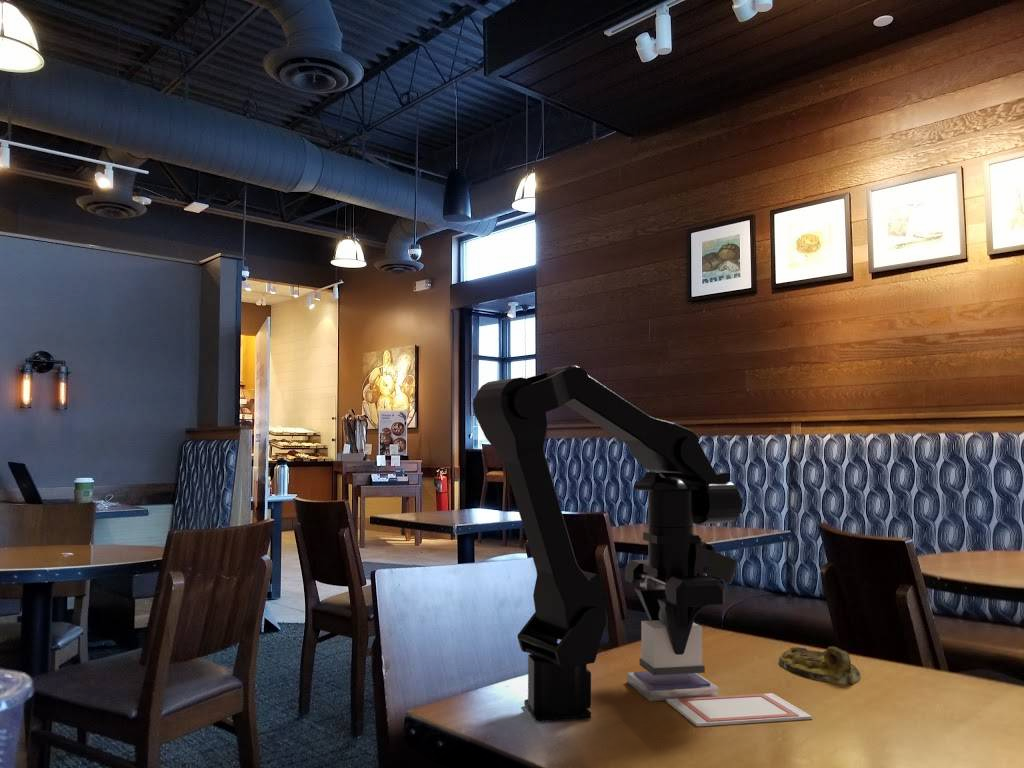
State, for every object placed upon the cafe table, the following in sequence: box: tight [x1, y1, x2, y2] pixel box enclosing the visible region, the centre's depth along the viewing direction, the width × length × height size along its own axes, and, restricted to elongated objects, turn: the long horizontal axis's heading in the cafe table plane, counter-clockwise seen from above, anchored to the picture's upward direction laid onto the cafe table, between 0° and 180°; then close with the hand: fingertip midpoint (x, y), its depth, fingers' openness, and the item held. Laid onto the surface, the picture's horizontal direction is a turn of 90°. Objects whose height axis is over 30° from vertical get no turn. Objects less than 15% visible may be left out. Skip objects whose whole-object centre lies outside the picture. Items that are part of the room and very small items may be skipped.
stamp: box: [639, 609, 706, 675], centre depth 101 cm, size 5×7×8 cm
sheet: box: [665, 692, 813, 727], centre depth 92 cm, size 14×9×1 cm, turn 102°
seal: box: [778, 646, 862, 686], centre depth 111 cm, size 9×5×15 cm
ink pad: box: [626, 670, 720, 702], centre depth 100 cm, size 9×8×2 cm
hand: (671, 649), depth 101 cm, fingers closed on stamp, 4 cm apart
